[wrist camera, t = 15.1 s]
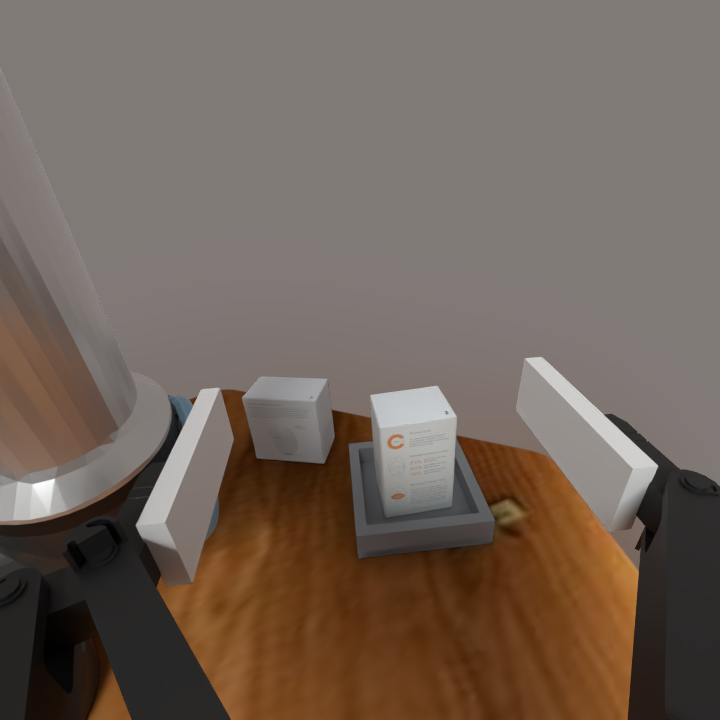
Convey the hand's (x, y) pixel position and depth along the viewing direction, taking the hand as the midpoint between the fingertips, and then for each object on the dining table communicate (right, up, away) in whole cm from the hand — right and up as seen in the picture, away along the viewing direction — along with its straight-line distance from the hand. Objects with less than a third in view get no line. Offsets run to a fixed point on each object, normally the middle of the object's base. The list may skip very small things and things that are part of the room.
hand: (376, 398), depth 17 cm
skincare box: (-10, -11, +41) cm, 44 cm away
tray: (+6, -15, +31) cm, 35 cm away
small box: (+6, -15, +30) cm, 34 cm away
